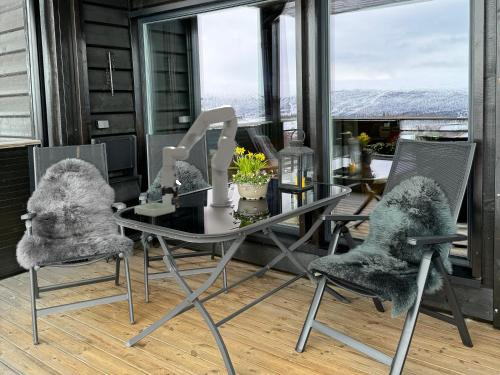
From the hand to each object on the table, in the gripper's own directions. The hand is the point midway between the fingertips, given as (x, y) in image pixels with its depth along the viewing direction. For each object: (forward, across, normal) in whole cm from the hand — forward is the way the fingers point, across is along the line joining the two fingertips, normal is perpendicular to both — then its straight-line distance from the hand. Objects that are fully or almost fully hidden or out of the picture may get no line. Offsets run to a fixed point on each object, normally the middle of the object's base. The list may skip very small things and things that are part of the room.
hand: (169, 196), depth 306 cm
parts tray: (+7, -3, +14) cm, 16 cm away
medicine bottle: (+7, -1, -1) cm, 7 cm away
